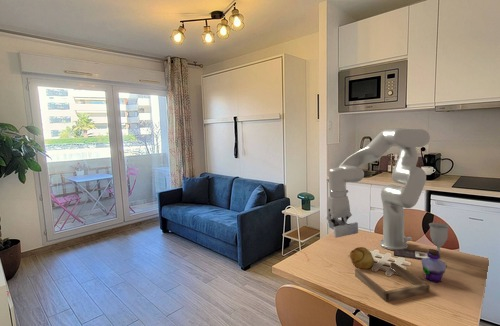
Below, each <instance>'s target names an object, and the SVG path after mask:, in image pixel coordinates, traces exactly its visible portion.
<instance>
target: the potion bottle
mask: <svg viewBox="0 0 500 326" xmlns="http://www.w3.org/2000/svg"><path fill="white" fill-rule="evenodd" d="M426 252H427V256H428V257H429V258H423V259H421V260H420V261H421V265H422V271H423V273H424V275H425V276H424V279H425V280H426V281H429V282H430V283H435V284H438V283H442V279H443V276H444V274H445V271H446V269H447V263H446V262H445V261H443V260H442V259H441V253H439V251H438V250H437V249H434V248H430V249H429V248H428V251H426ZM439 258H440V260H439ZM441 260H442V261H441Z"/></svg>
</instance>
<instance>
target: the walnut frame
mask: <svg viewBox="0 0 500 326" xmlns="http://www.w3.org/2000/svg"><path fill="white" fill-rule="evenodd" d="M391 268H392V269H394V270H395V271H396V272H397V273H398V274H397V273H396V274H397V275H399V277H401V278H403V279H405V280H406V281H407V282H409V283H411V284H412V285H410V286H405V287H400V288H395V289H391V290H385V289H384V288H383V287H382V286H380V285H379V284H378V283H377V282H375V281H374V280H373V279H371V278H370V277H369V276H367V275H366V274H365V273H364V272H363V271H361V270H360V268H355V269H354V277H355V278H356V279H358V280H359V281H360V282H361V283H363V284H364V286H366V287H368V288H369V289H370V290H371V291H372V292H374V293H375V294H376V295H377V296H379V298H381V299H382V301H384V302H386V303H387V302H391V301H394V300H401V299H405V298H409V297H412V296H418V295H423V294H427V293H430V284H429V283H427V282H426V281H424V280H423V279H422V278H420V277H418V276H416V275H414V274H413V273H411V272H409V271H408V270H406V269H405V268H403V267H402V266H400V265H398V264H396V263H395V262H390V269H391Z"/></svg>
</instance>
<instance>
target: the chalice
mask: <svg viewBox="0 0 500 326" xmlns="http://www.w3.org/2000/svg"><path fill="white" fill-rule="evenodd" d="M428 225H429V236H430V239H431V241H432V243H433V245H435V247H436V250H438V251H439V253H440V252H441V249H440V248H441V247H443V246H444V245H445V244H446V242H447V240H448V236H449V235H448V234H449V232H448V231H449V228H450V225H448V224H446V223H441V222H430V223H428ZM440 254H441V253H440ZM439 260H441V261H443V260H442V259H441V257H440V258H439Z"/></svg>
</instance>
